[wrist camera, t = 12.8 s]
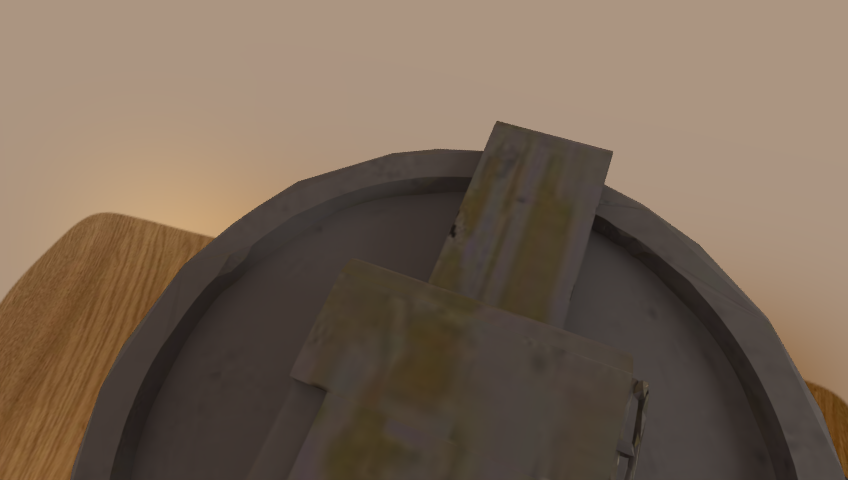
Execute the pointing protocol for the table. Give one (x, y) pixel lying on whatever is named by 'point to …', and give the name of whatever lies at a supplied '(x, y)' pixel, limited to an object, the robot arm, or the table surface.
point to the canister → (456, 339)
